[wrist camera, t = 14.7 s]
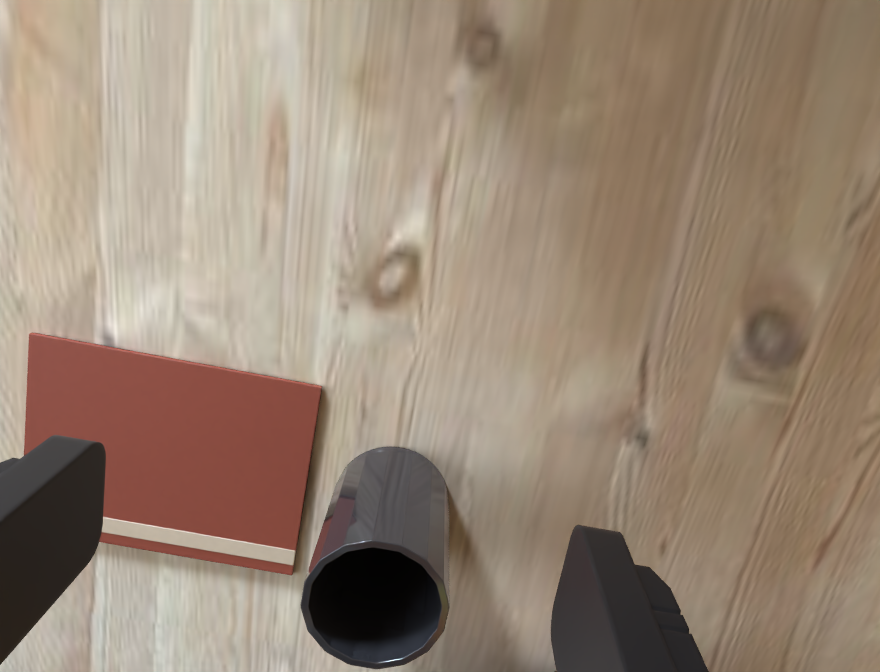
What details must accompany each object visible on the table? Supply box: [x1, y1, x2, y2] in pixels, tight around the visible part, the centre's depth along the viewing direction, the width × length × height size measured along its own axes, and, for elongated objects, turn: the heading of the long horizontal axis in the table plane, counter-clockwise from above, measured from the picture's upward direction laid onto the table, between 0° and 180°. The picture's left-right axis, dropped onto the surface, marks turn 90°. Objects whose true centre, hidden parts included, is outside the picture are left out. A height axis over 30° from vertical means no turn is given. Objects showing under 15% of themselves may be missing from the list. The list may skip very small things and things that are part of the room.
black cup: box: [301, 447, 449, 669], centre depth 37 cm, size 6×6×10 cm
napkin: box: [24, 333, 322, 575], centre depth 41 cm, size 16×12×1 cm
